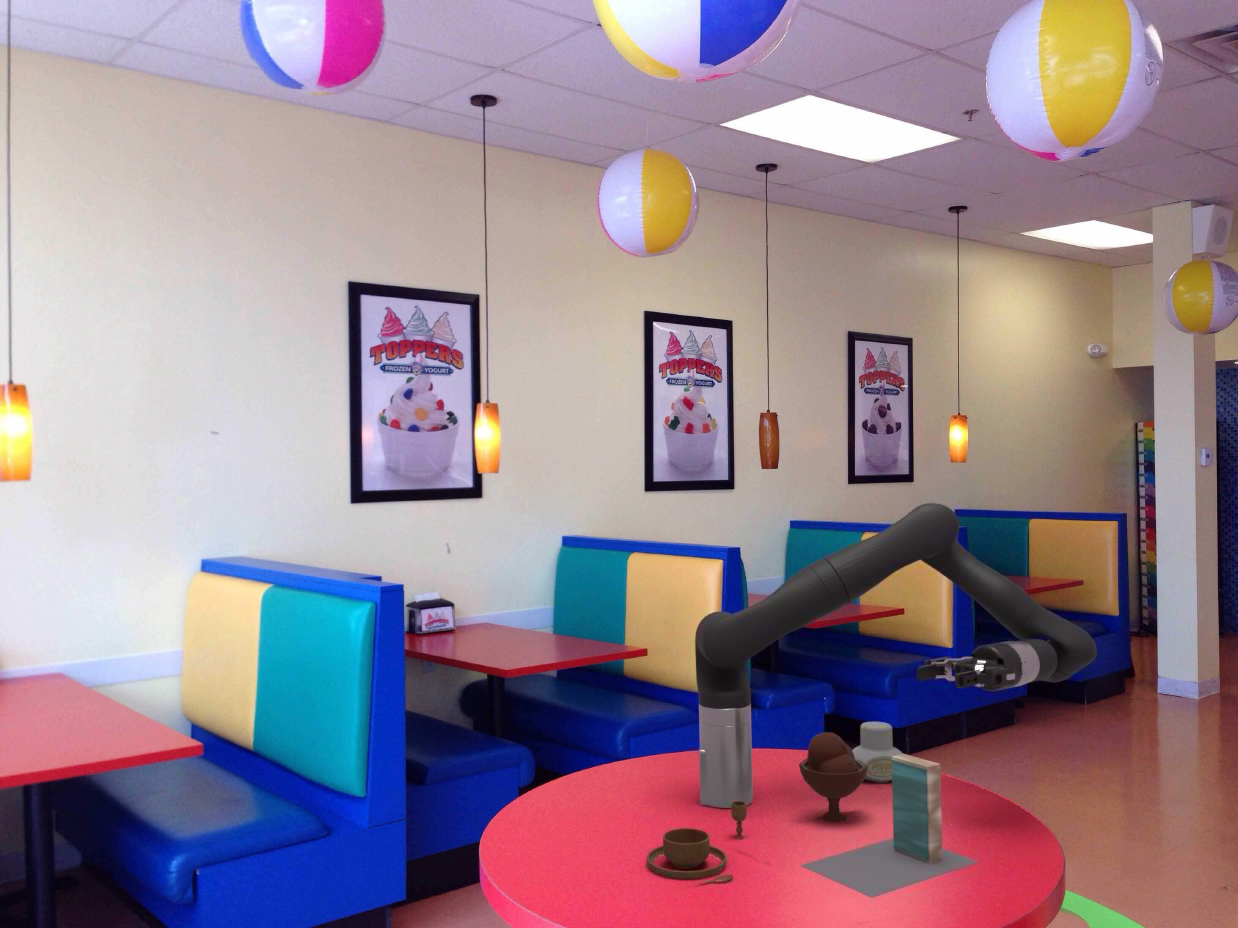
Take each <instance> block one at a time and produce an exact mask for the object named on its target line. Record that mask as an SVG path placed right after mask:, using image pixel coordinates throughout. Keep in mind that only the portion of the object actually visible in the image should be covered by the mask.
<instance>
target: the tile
mask: <svg viewBox="0 0 1238 928" xmlns="http://www.w3.org/2000/svg"><path fill="white" fill-rule="evenodd" d="M891 757H892V780H891V790H892V791H891V792H892V793H891V795H892V797H891V798H892V831H893V832H892V833H893V834H892V836H893V837H892V838H893V842H894V850H896V851H899V852H902V853H904V854H907V855H909V856H912V857H914V858H917V859H920V860H922V861H925V862H927V863H930V864H931V863H934V862H937V861H940V860H942V848H943V829H942V826H943V825H942V824H943V823H942V791H941V789H942V785H941V781H942V780H941V779H942V778H941V764H940V763H938V762H933V761H930V760H927V759H925V758H920V757H917V756H913V755H908V754H906V753H903V754H900V755H896V756H891Z"/></svg>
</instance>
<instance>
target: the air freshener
mask: <svg viewBox="0 0 1238 928" xmlns="http://www.w3.org/2000/svg"><path fill="white" fill-rule="evenodd" d="M859 729H860V734H859V735H860V745H857V746H856V747H854V748H853V749H852V752H853V753H854V757H855V760H860V761H861V762H863V763H864V764H865V765H866V766H868V767H867V772H866V776H865V778H864V780H866V781H868V782H869V781H870V782H873V783H888V782H890V781H891V782H892V757H891V756H896V755H900V754H904V753H903V752H902V751H901V750H899V749H898V748H896V747H895V746H893V744H894V743H893V726H892V725H891V724H890V723H887V722H883V721H882V722H881V721H866V722H865V721H864V722H862V723H861V725H860V727H859Z"/></svg>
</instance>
